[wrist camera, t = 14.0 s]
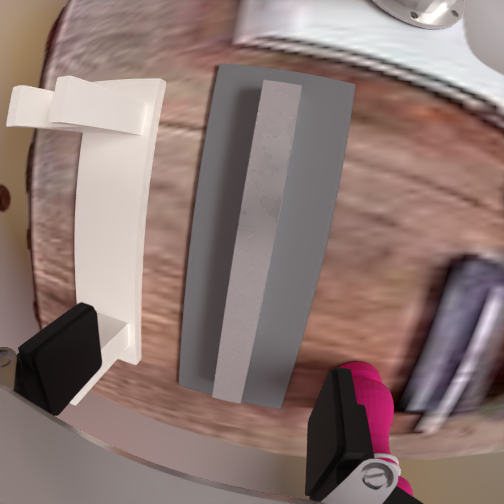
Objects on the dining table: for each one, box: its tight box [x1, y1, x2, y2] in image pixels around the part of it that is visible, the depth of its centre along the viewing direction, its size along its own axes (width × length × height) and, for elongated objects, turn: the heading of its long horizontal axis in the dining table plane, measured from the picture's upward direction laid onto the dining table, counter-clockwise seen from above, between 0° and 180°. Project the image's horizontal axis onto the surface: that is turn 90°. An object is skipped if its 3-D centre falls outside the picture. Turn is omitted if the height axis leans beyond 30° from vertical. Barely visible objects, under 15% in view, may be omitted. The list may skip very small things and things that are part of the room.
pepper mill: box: [339, 362, 413, 496], centre depth 20 cm, size 7×7×20 cm
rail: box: [212, 80, 302, 404], centre depth 26 cm, size 30×3×2 cm, turn 170°
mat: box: [179, 64, 355, 409], centre depth 28 cm, size 34×12×1 cm, turn 170°
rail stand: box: [6, 75, 167, 406], centre depth 23 cm, size 30×8×12 cm, turn 170°
